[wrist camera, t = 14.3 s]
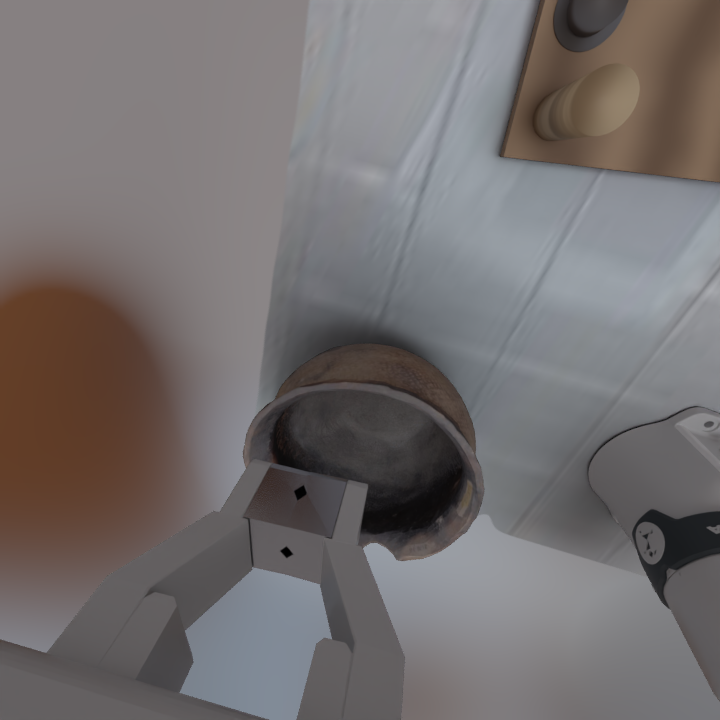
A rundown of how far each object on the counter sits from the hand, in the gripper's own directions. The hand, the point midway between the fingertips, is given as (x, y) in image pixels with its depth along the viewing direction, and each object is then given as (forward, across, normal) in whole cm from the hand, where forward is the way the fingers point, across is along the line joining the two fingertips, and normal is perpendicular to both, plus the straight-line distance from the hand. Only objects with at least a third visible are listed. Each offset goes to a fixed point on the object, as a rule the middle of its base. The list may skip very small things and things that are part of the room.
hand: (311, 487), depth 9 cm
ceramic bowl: (+31, 0, +19) cm, 37 cm away
